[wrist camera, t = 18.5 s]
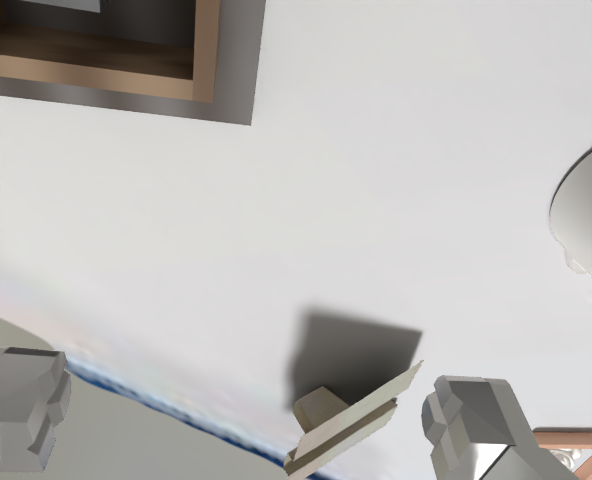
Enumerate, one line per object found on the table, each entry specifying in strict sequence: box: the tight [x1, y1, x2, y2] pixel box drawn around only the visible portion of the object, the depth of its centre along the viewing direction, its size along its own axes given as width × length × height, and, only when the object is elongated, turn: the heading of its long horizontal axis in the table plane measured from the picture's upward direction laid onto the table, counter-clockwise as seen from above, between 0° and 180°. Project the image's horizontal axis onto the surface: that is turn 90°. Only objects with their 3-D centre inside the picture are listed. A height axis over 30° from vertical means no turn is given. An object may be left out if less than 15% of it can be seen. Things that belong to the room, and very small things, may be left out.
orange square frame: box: [533, 432, 592, 480], centre depth 77 cm, size 16×16×2 cm
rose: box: [548, 449, 582, 472], centre depth 75 cm, size 10×4×10 cm
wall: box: [284, 360, 424, 480], centre depth 58 cm, size 19×10×17 cm
